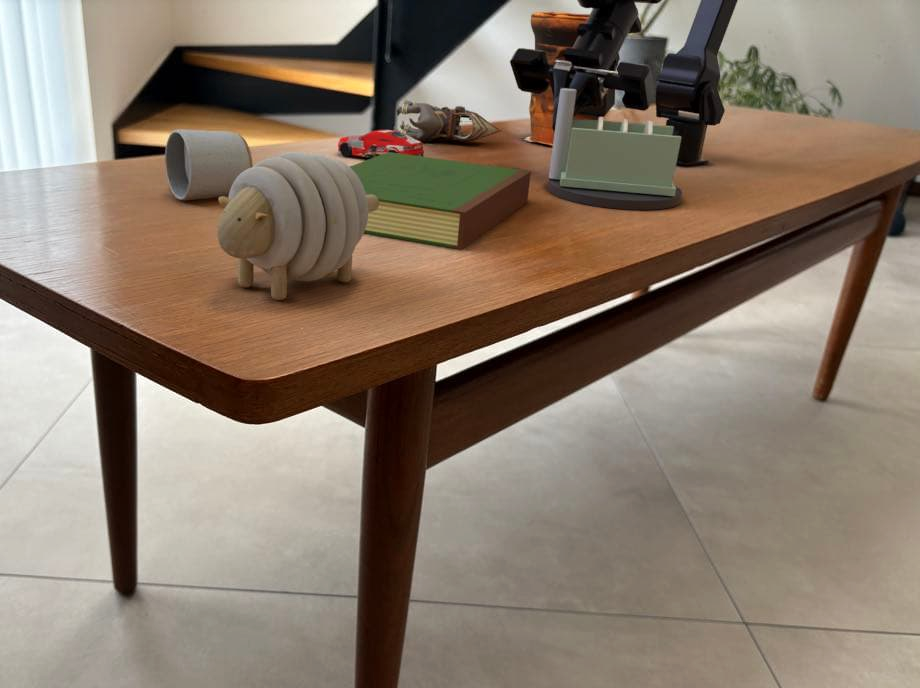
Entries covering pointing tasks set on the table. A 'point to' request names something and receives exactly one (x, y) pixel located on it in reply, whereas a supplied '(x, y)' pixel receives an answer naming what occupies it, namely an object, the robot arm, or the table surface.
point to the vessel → (553, 39)
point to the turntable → (614, 197)
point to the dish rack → (612, 153)
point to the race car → (379, 144)
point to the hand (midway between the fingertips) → (554, 129)
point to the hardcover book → (439, 197)
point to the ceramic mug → (205, 162)
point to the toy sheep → (294, 219)
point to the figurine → (443, 122)
